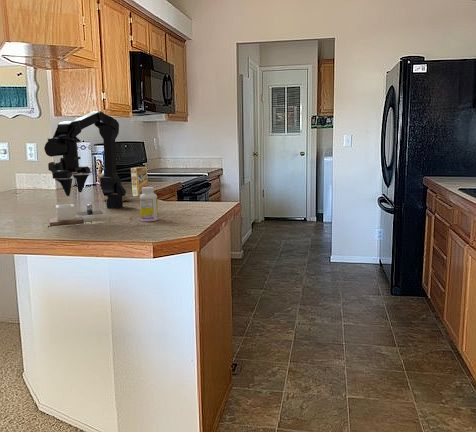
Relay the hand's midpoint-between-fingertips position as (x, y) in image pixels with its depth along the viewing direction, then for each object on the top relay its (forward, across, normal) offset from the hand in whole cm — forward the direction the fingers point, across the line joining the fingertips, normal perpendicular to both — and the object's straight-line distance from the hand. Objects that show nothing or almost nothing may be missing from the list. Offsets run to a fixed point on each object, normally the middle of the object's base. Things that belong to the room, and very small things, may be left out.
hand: (74, 194), depth 190 cm
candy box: (+12, -73, -3) cm, 74 cm away
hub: (+10, +8, 0) cm, 13 cm away
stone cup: (+12, -50, -8) cm, 52 cm away
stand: (+10, -9, +1) cm, 14 cm away
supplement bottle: (+10, 0, +31) cm, 33 cm away
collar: (+8, +8, 0) cm, 11 cm away
